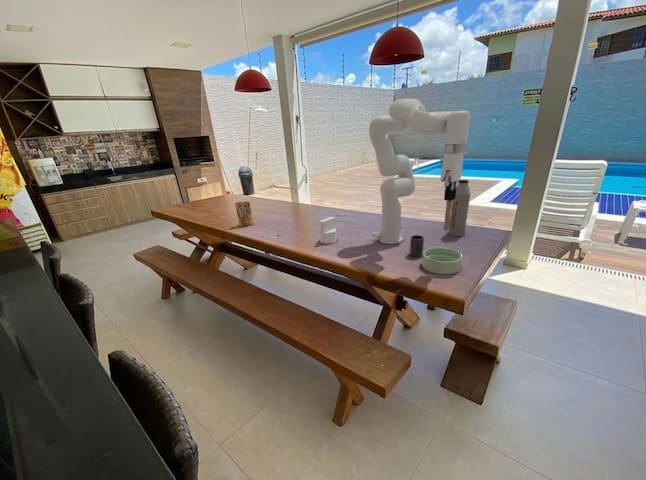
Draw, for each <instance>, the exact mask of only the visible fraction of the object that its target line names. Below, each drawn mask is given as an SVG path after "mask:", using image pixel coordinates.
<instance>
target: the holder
mask: <svg viewBox="0 0 646 480" xmlns="http://www.w3.org/2000/svg"><path fill="white" fill-rule="evenodd" d="M424 245H425V237H424V236H423V235H419V234H415V235H411V236H410V241H409V257H412V258H421V257H423V252H424V247H425V246H424Z"/></svg>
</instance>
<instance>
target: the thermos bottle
mask: <svg viewBox="0 0 646 480" xmlns="http://www.w3.org/2000/svg"><path fill="white" fill-rule="evenodd" d="M469 182H470V181H469V180H467V179H458V181H457V188H455V189H456V197H455V199H453V200H452V208H451V216H450V225H449V230H448V235H450V236H453V237H463V236H465V234H466V226H467V219H468V212H469V206H470V198H471V190H470V189H471V188H470V186H469Z"/></svg>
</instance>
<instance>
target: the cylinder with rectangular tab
mask: <svg viewBox="0 0 646 480" xmlns="http://www.w3.org/2000/svg"><path fill="white" fill-rule="evenodd" d="M318 224H319V230H318V231H319V243H322V244H323V245H330V244H334V243H336V242H337V240H338V238H337V236H338V235H337V229H336V218H335V217H334V216H330V217H326V218H323V219H321V220H319V223H318Z"/></svg>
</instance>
